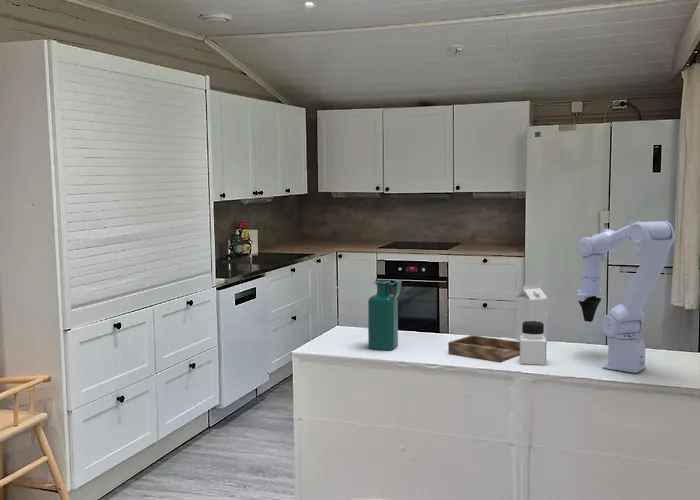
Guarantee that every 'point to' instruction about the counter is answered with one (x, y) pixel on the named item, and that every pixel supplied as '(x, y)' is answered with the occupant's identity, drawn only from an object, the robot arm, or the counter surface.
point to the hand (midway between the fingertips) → (588, 321)
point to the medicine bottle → (533, 343)
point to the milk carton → (531, 308)
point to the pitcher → (383, 317)
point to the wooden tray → (484, 348)
